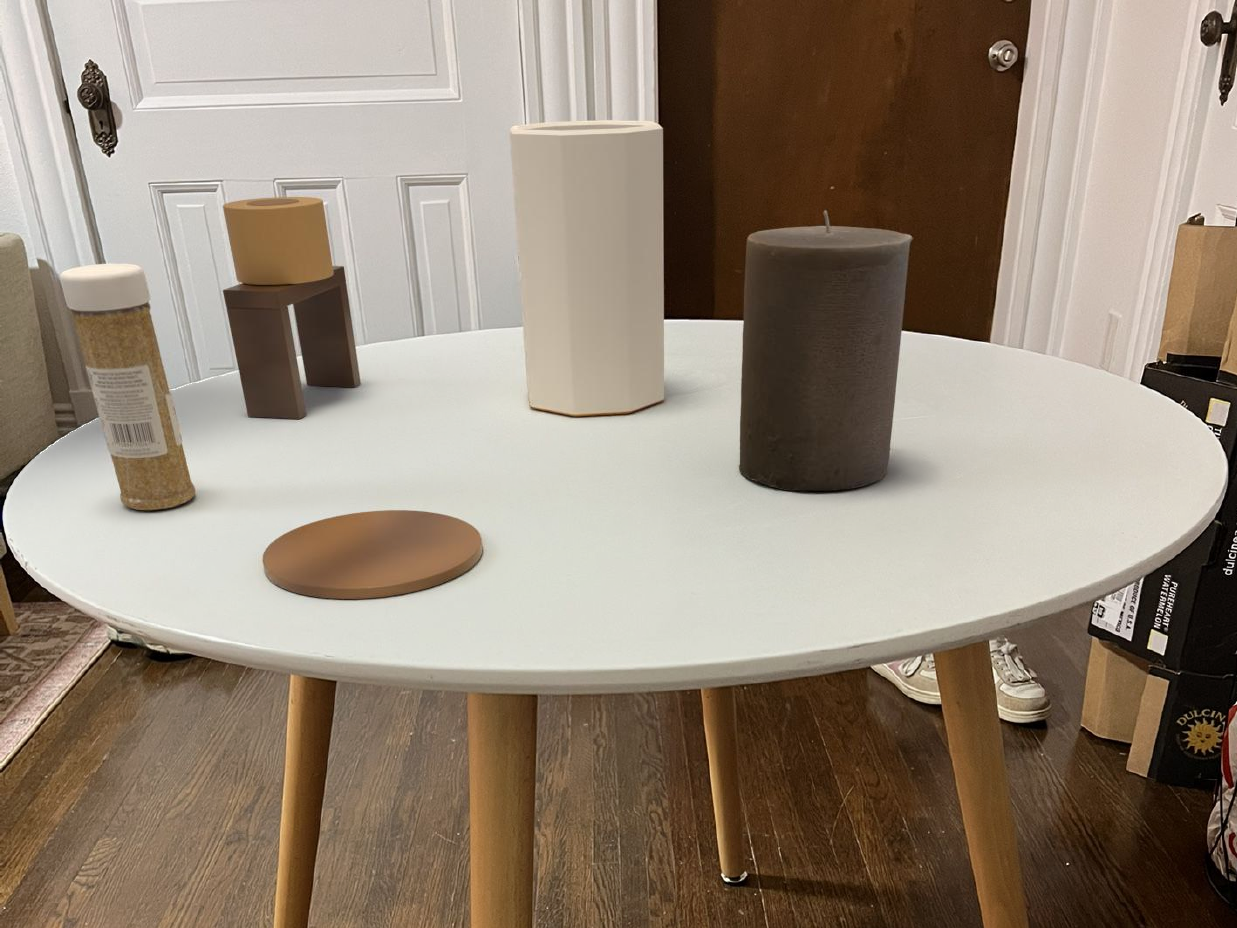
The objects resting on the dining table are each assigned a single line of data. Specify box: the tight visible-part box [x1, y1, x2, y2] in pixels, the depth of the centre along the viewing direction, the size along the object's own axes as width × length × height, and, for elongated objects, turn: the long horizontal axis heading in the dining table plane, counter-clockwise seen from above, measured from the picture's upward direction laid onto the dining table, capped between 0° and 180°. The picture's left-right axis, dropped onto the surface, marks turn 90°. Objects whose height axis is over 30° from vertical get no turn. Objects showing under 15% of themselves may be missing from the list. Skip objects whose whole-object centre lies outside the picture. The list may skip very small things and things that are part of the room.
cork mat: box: [262, 509, 483, 600], centre depth 65 cm, size 12×12×1 cm
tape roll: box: [222, 196, 334, 285], centre depth 88 cm, size 7×7×5 cm
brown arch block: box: [222, 265, 362, 420], centre depth 92 cm, size 4×11×9 cm, turn 166°
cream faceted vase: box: [509, 119, 665, 417], centre depth 88 cm, size 11×11×18 cm
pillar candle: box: [738, 210, 914, 492], centre depth 73 cm, size 10×10×15 cm
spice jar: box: [59, 263, 196, 511], centre depth 71 cm, size 5×5×14 cm
